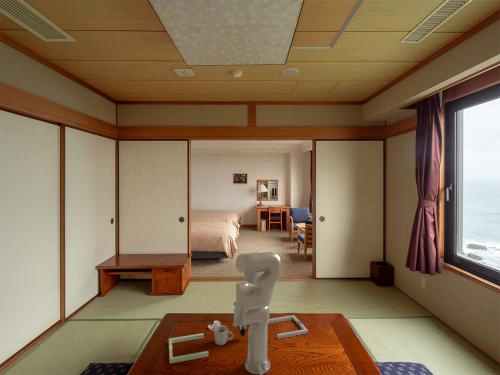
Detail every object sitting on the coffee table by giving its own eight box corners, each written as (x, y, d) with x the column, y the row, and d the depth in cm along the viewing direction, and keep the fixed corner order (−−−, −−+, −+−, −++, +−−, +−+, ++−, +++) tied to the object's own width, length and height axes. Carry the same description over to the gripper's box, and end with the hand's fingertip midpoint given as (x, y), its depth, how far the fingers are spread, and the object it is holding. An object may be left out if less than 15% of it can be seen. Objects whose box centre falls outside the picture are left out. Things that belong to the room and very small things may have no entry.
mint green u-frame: (208, 356, 145) (208, 351, 145) (169, 363, 139) (169, 358, 139) (203, 336, 163) (203, 332, 163) (168, 342, 158) (168, 337, 157)
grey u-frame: (308, 333, 167) (308, 329, 167) (278, 338, 161) (278, 334, 161) (293, 318, 185) (293, 314, 185) (266, 322, 180) (266, 318, 179)
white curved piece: (206, 330, 171) (206, 324, 170) (211, 323, 178) (211, 317, 178) (220, 332, 169) (220, 325, 168) (224, 325, 176) (224, 319, 176)
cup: (234, 339, 161) (234, 325, 160) (231, 347, 153) (231, 333, 153) (215, 338, 162) (215, 324, 162) (212, 346, 154) (212, 332, 154)
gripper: (231, 308, 154) (231, 340, 155) (256, 305, 159) (256, 336, 159) (228, 302, 161) (228, 333, 162) (252, 299, 166) (252, 329, 166)
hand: (242, 335), depth 161 cm, fingers closed
